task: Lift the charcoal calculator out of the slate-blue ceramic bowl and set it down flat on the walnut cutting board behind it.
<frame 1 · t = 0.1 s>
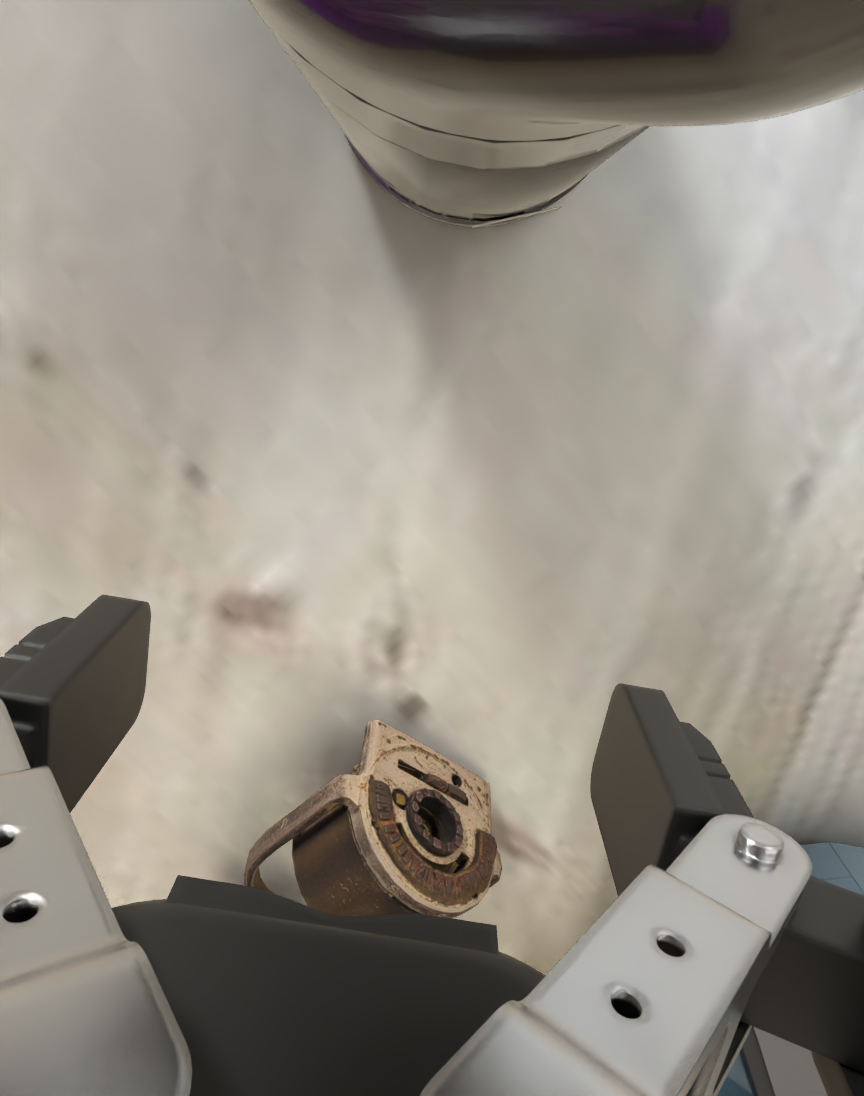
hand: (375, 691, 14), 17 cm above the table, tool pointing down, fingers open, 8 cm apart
bowl: (788, 990, 38), on the table
calculator: (795, 1005, 37), point 1 cm above the table, touching bowl
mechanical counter: (349, 822, 35), on the table
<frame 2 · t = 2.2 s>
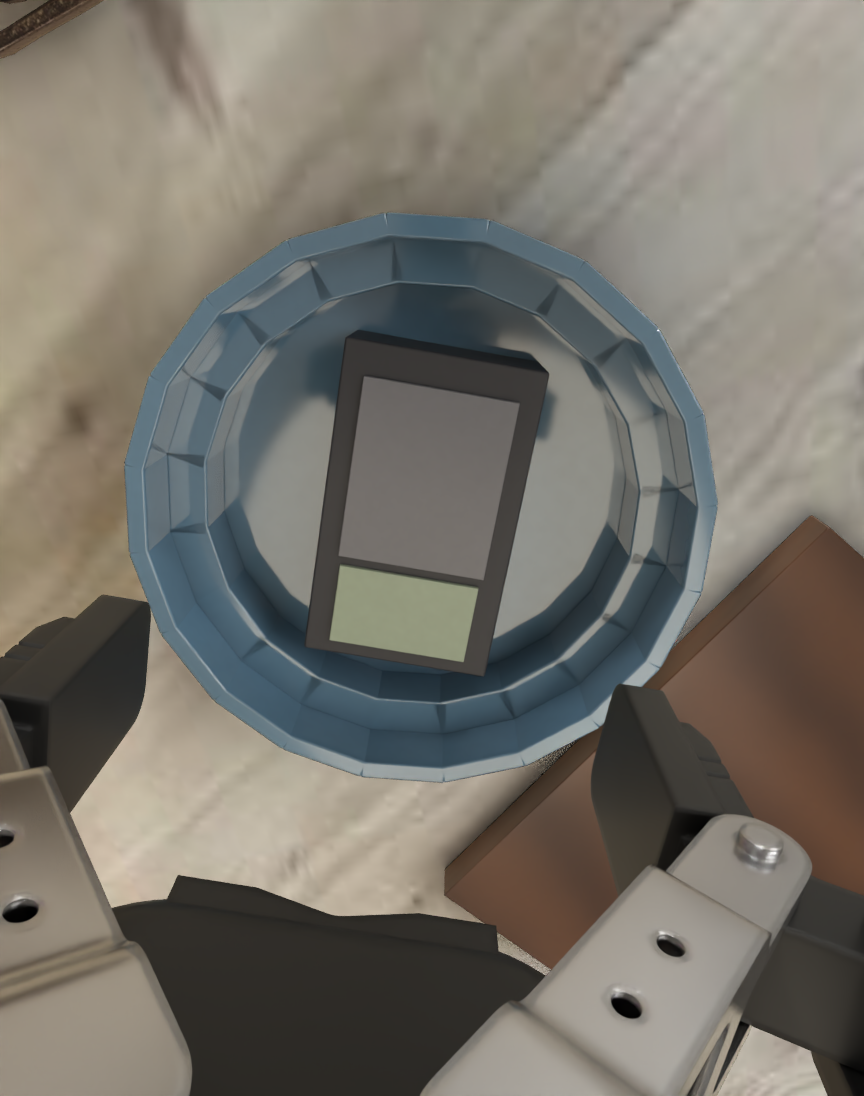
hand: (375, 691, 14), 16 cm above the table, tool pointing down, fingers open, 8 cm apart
bowl: (423, 487, 29), on the table
calculator: (422, 493, 28), point 1 cm above the table, touching bowl
board: (740, 807, 33), on the table
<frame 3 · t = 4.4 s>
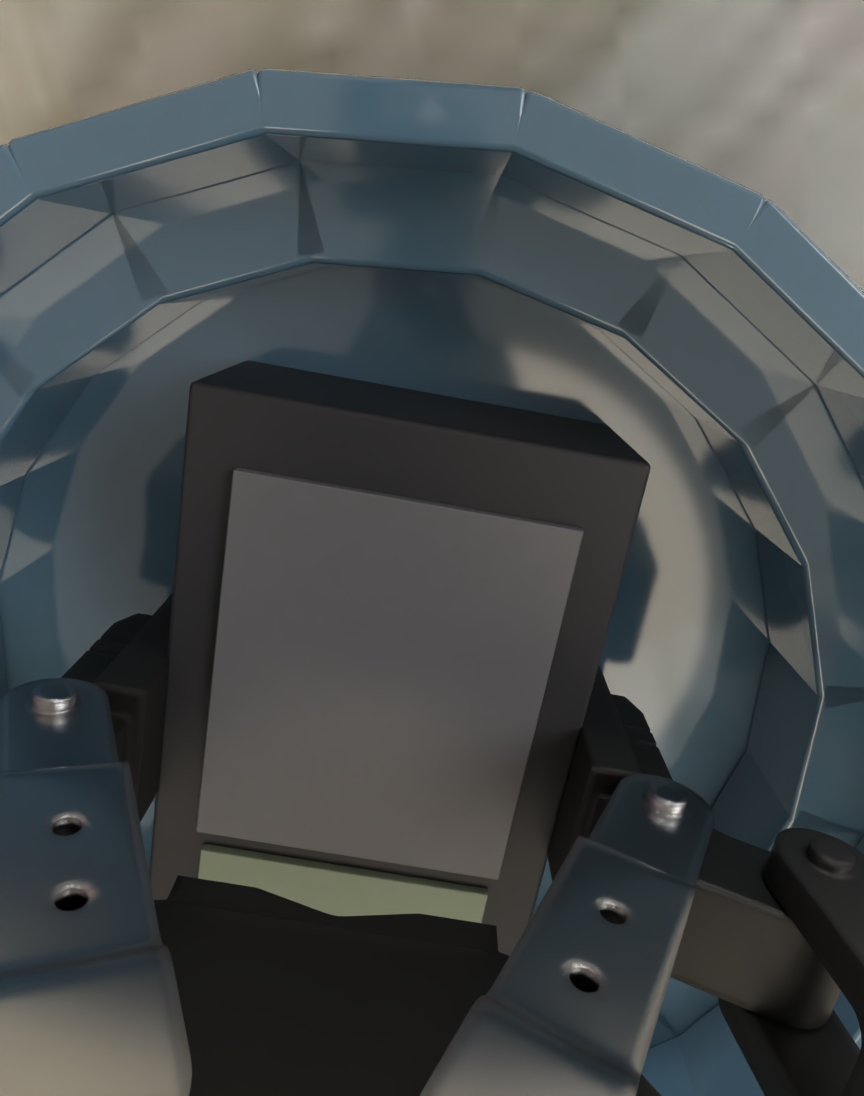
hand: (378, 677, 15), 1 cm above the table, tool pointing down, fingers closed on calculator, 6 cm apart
bowl: (384, 648, 16), on the table
calculator: (381, 667, 15), point 1 cm above the table, touching bowl, gripper
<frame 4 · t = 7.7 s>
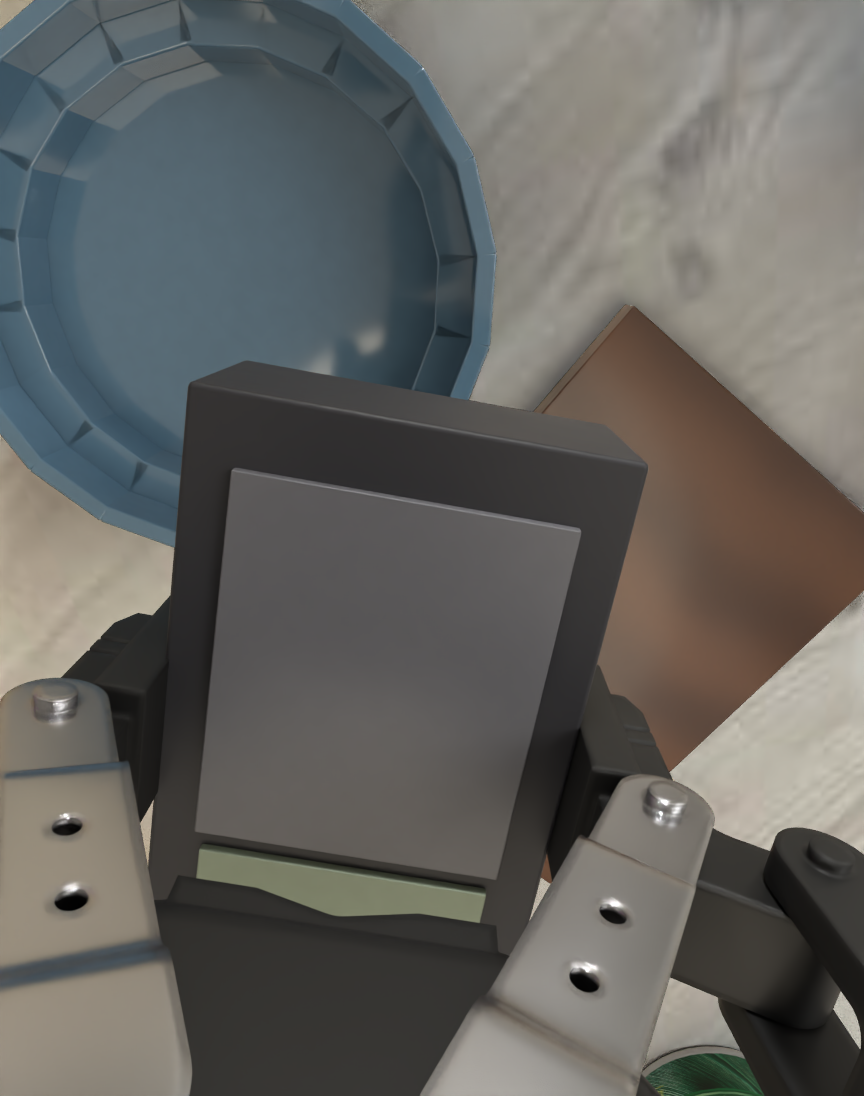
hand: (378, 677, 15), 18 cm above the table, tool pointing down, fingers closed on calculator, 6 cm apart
bowl: (248, 282, 30), on the table
calculator: (379, 667, 15), point 18 cm above the table, touching gripper
board: (581, 614, 34), on the table
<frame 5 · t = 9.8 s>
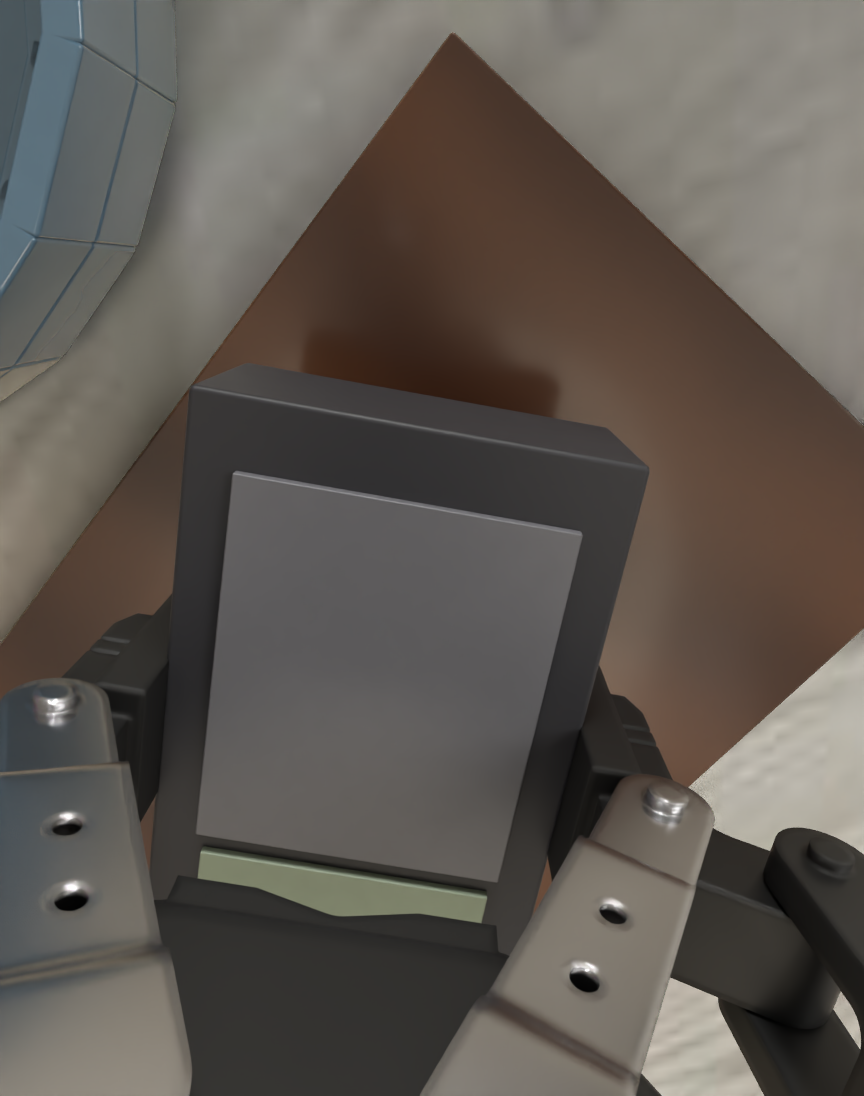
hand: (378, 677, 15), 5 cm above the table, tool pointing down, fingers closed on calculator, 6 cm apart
calculator: (380, 669, 15), point 4 cm above the table, touching gripper
board: (403, 637, 19), on the table
when the fingers open (2 cm above the table, at t = 11.2 s): calculator stays where it is, resting on board.
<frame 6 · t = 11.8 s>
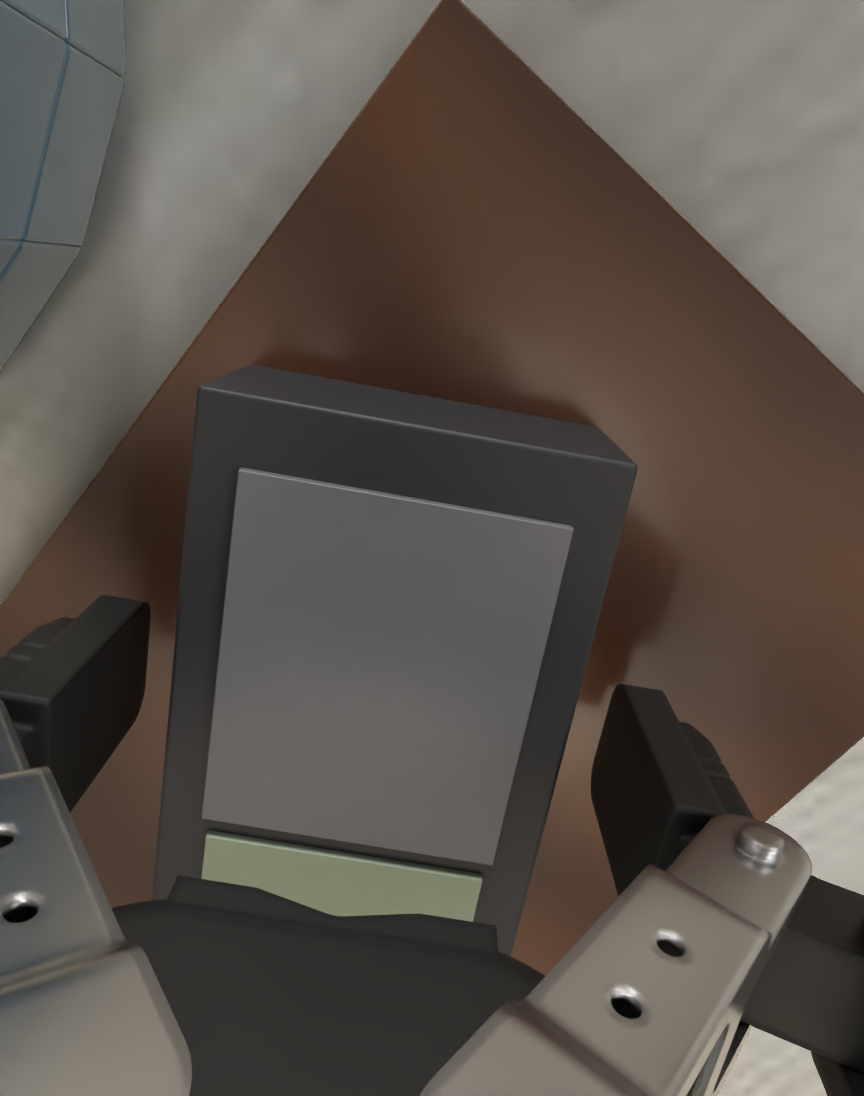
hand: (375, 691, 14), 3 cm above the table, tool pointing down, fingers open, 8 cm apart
calculator: (379, 662, 15), point 1 cm above the table, touching board
board: (393, 689, 17), on the table
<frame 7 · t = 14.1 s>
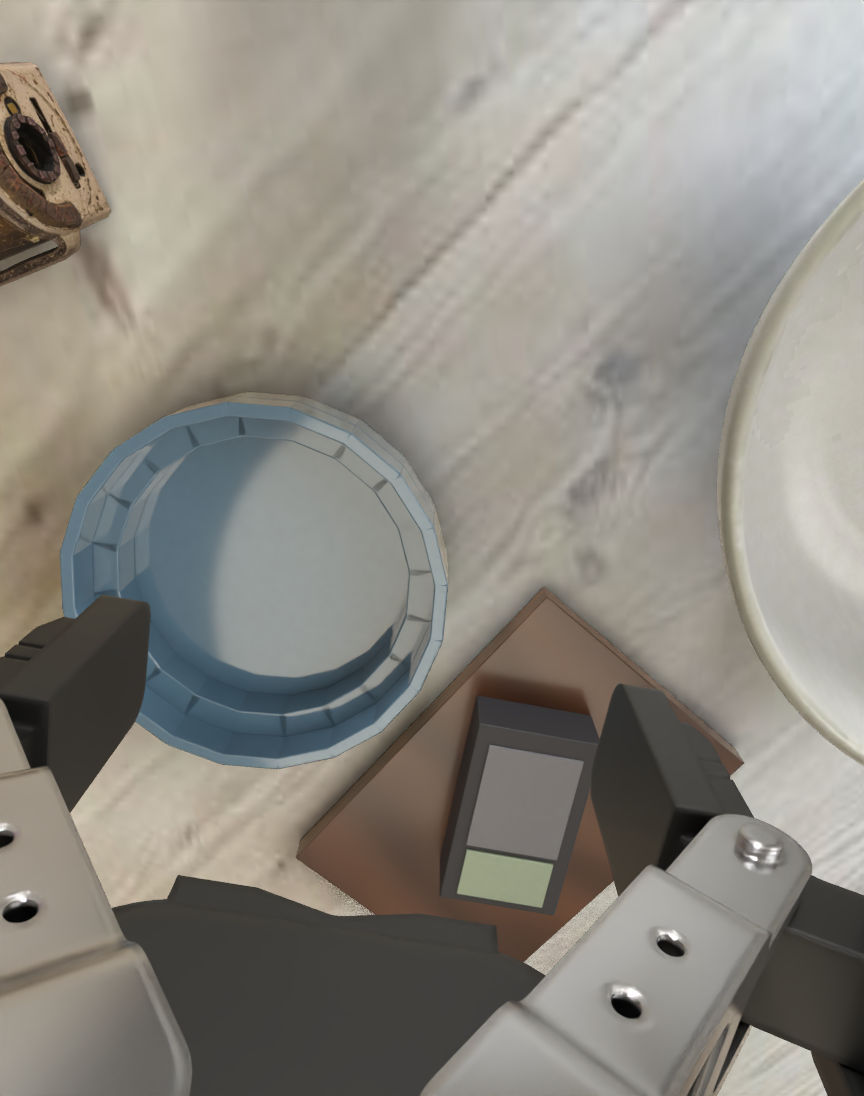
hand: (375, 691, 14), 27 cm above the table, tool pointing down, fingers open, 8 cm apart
bowl: (275, 564, 42), on the table
calculator: (513, 789, 43), point 1 cm above the table, touching board
board: (512, 795, 45), on the table
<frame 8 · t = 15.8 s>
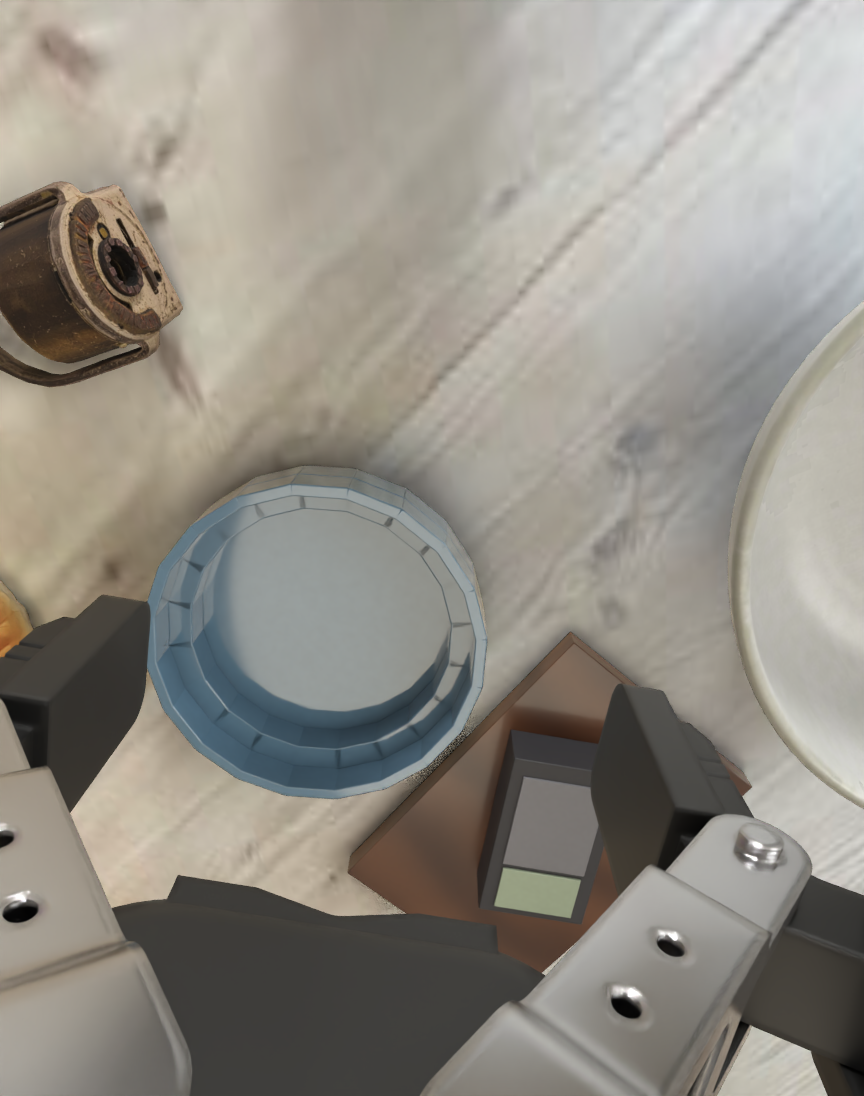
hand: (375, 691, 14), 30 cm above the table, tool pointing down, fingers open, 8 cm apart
bowl: (328, 613, 46), on the table
calculator: (543, 811, 48), point 1 cm above the table, touching board
board: (542, 815, 50), on the table
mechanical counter: (59, 289, 41), on the table
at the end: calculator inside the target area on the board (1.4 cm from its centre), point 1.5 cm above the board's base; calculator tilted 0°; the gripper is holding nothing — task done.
